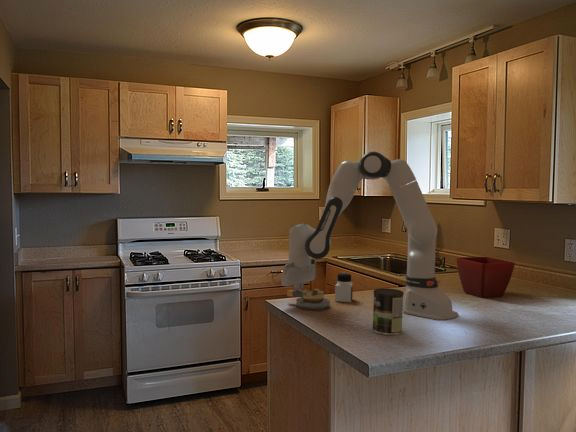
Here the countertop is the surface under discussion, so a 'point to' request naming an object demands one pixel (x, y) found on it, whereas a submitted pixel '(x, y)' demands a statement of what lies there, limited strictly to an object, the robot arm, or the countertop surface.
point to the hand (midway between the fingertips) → (298, 293)
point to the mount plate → (312, 304)
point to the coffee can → (387, 311)
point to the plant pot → (484, 275)
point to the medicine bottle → (343, 288)
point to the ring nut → (308, 295)
